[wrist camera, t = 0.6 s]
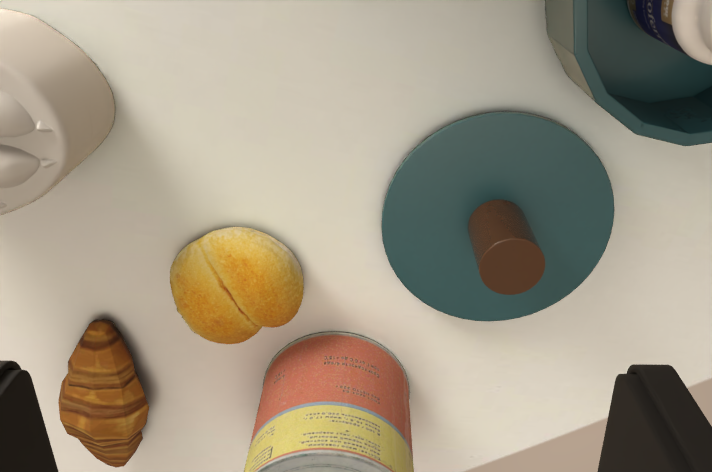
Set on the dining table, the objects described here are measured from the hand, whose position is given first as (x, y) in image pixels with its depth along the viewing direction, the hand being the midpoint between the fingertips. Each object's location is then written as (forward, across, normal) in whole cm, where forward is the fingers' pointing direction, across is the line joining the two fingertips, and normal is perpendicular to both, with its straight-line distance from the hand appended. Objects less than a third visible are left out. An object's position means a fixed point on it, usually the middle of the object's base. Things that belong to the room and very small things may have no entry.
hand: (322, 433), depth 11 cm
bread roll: (+32, +9, +16) cm, 37 cm away
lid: (+32, -9, +11) cm, 35 cm away
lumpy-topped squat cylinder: (+32, +22, +2) cm, 39 cm away
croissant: (+33, +20, +25) cm, 46 cm away
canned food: (+33, +2, +26) cm, 42 cm away
